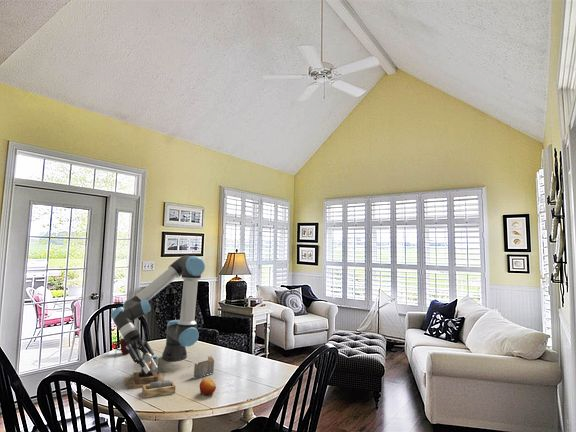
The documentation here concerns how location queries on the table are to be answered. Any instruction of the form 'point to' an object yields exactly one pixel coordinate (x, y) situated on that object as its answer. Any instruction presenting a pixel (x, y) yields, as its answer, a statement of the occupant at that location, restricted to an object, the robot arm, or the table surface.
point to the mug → (122, 346)
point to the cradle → (142, 379)
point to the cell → (147, 358)
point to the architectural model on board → (204, 367)
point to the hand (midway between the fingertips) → (151, 370)
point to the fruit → (207, 386)
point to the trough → (158, 388)
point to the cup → (156, 363)
